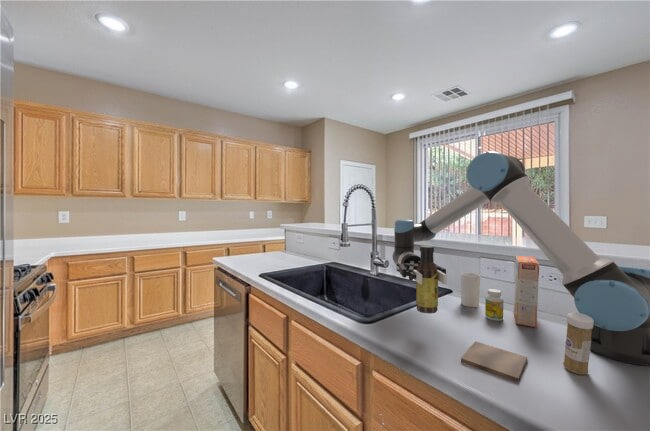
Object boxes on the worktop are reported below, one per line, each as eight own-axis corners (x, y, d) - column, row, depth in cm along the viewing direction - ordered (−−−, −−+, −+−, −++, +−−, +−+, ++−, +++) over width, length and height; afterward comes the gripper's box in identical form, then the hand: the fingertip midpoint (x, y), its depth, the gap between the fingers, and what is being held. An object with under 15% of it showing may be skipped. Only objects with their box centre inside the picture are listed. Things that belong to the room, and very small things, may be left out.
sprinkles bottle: (558, 364, 69) (562, 312, 67) (573, 361, 70) (578, 310, 68) (577, 377, 65) (582, 322, 63) (594, 373, 66) (599, 319, 63)
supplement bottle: (506, 319, 98) (506, 291, 97) (497, 322, 95) (498, 293, 94) (490, 313, 102) (490, 287, 102) (481, 316, 99) (482, 289, 99)
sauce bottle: (439, 315, 83) (440, 248, 83) (417, 314, 85) (417, 247, 84) (435, 307, 90) (436, 245, 89) (415, 306, 91) (415, 244, 90)
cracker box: (538, 328, 90) (540, 263, 89) (515, 324, 93) (516, 261, 92) (533, 314, 102) (535, 256, 101) (513, 311, 105) (514, 254, 104)
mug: (474, 309, 107) (475, 277, 106) (457, 304, 112) (457, 274, 112) (486, 303, 113) (486, 273, 113) (468, 298, 118) (469, 270, 118)
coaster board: (527, 360, 71) (527, 356, 71) (518, 382, 63) (518, 378, 63) (475, 344, 80) (475, 341, 80) (460, 362, 71) (460, 358, 71)
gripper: (437, 273, 105) (466, 292, 81) (384, 273, 105) (399, 292, 82) (437, 253, 104) (466, 266, 81) (384, 253, 105) (399, 266, 82)
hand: (433, 279), depth 82 cm, fingers closed on sauce bottle, 6 cm apart
